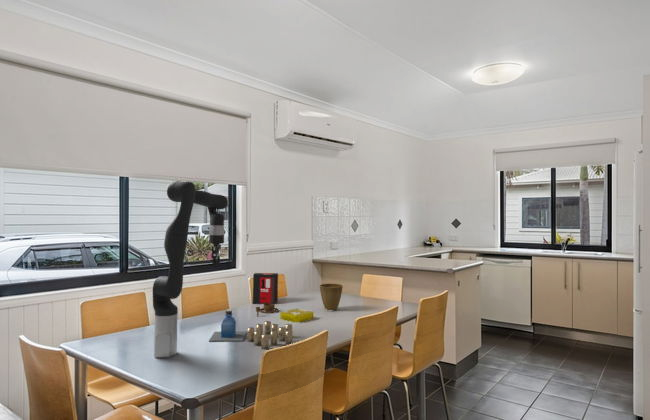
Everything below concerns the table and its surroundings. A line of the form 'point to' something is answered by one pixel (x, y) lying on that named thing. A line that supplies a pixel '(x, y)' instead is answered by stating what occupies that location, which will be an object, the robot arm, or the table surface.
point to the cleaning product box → (265, 288)
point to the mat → (237, 338)
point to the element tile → (296, 315)
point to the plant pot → (331, 295)
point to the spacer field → (273, 333)
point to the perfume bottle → (228, 325)
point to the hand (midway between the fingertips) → (216, 265)
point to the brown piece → (266, 309)
